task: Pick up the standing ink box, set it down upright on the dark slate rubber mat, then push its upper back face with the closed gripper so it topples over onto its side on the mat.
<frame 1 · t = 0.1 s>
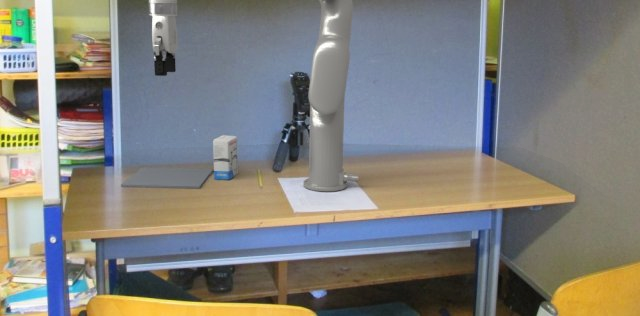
hand: (165, 73, 181), 31 cm above the table, fingers open, 9 cm apart
slate mat: (169, 178, 192), on the table
ink box: (226, 177, 195), on the table
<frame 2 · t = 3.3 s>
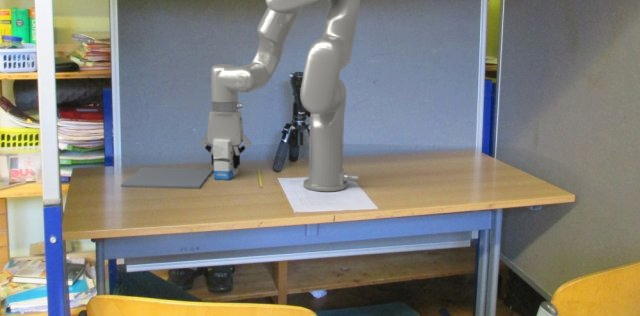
hand: (225, 166, 195), 3 cm above the table, fingers closed on ink box, 5 cm apart
ink box: (226, 176, 195), on the table, touching gripper
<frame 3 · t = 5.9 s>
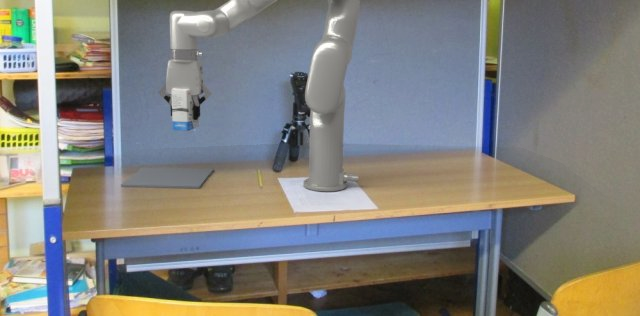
hand: (185, 118, 188), 18 cm above the table, fingers closed on ink box, 5 cm apart
ink box: (185, 128, 189), point 15 cm above the table, touching gripper
when the fingers open (5 cm above the table, at t = 8.9 s): ink box drops 1 cm, resting on slate mat.
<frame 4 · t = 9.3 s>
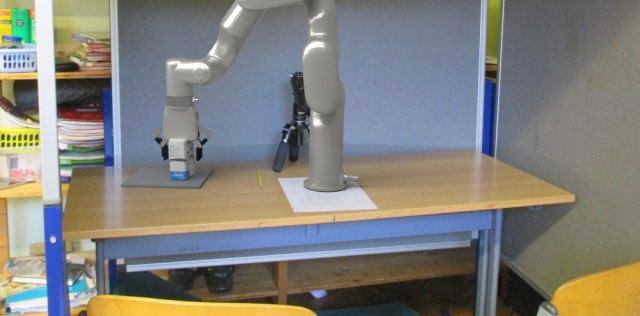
hand: (182, 159, 190), 6 cm above the table, fingers open, 9 cm apart
ink box: (182, 177, 192), resting on slate mat
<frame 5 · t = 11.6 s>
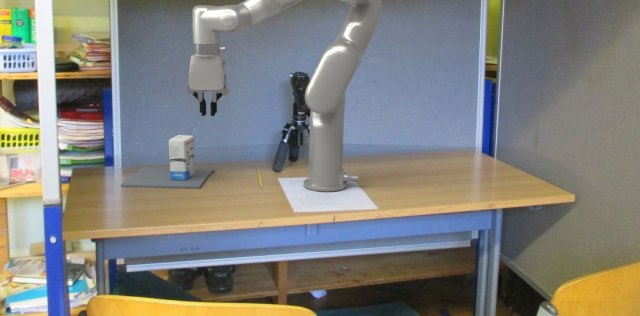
hand: (208, 114, 187), 19 cm above the table, fingers closed
nothing on the table moved.
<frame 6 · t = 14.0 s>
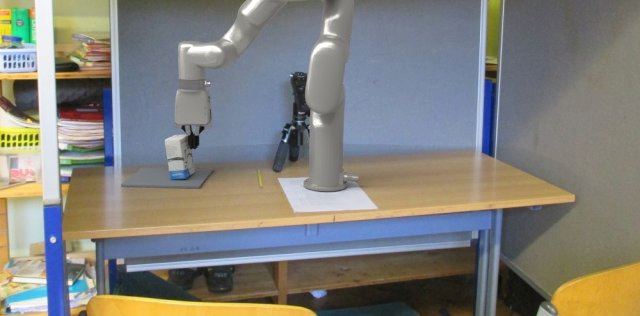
hand: (193, 148, 190), 9 cm above the table, fingers closed
ink box: (182, 176, 192), point 1 cm above the table, touching gripper, slate mat
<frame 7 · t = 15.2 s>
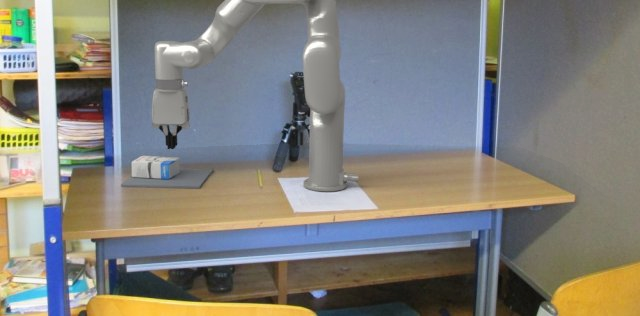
hand: (171, 148, 190), 9 cm above the table, fingers closed
ink box: (175, 168, 191), point 3 cm above the table, touching slate mat
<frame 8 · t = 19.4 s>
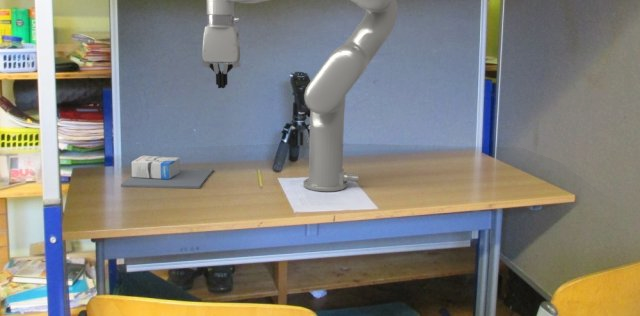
hand: (221, 87, 185), 27 cm above the table, fingers closed
nothing on the table moved.
at the end: ink box tilted 89°; ink box inside the target area (3.9 cm from its centre), point 3.0 cm above the table; the gripper is holding nothing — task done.
